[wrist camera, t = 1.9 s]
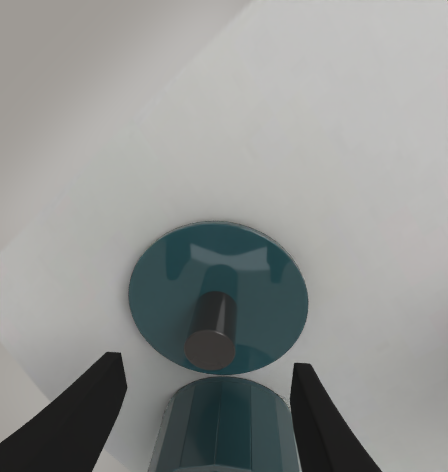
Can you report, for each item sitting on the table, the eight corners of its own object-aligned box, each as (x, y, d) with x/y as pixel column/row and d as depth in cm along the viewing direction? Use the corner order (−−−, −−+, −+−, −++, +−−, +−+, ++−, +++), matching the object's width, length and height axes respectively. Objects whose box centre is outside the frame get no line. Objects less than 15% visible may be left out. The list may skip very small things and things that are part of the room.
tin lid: (112, 318, 18) (73, 374, 14) (178, 182, 14) (151, 204, 10) (248, 383, 19) (248, 451, 15) (341, 272, 15) (374, 323, 11)
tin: (146, 433, 22) (117, 524, 17) (200, 355, 18) (183, 441, 13) (250, 477, 23) (251, 575, 18) (320, 412, 20) (345, 510, 15)
